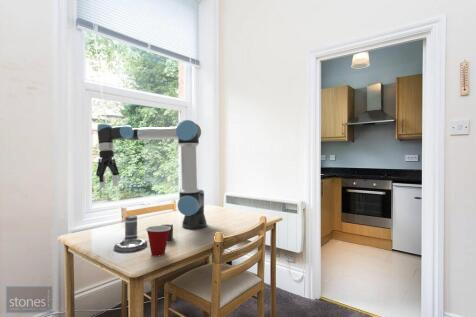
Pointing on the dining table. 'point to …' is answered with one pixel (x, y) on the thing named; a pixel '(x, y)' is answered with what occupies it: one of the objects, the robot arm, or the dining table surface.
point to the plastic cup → (158, 239)
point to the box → (169, 232)
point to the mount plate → (130, 245)
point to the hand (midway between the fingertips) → (109, 187)
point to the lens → (130, 227)
